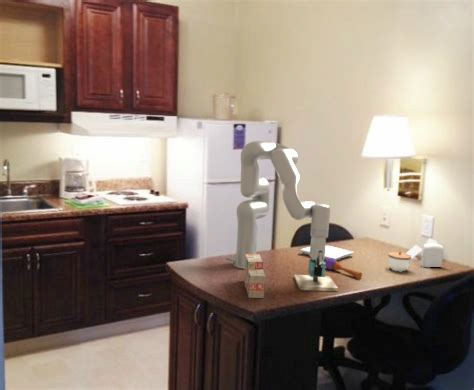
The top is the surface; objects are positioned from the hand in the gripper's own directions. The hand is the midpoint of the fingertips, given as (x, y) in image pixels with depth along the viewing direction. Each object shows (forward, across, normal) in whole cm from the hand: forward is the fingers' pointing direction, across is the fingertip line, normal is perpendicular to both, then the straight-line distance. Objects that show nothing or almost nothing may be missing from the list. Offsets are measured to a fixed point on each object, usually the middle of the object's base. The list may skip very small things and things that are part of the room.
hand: (316, 273), depth 216 cm
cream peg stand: (+5, 0, 0) cm, 5 cm away
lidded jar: (+5, -28, +47) cm, 55 cm away
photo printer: (+6, -36, +67) cm, 76 cm away
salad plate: (+6, -49, +16) cm, 52 cm away
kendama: (+6, -19, +16) cm, 26 cm away
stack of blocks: (+5, +9, -28) cm, 30 cm away
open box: (+1, 0, 0) cm, 1 cm away
